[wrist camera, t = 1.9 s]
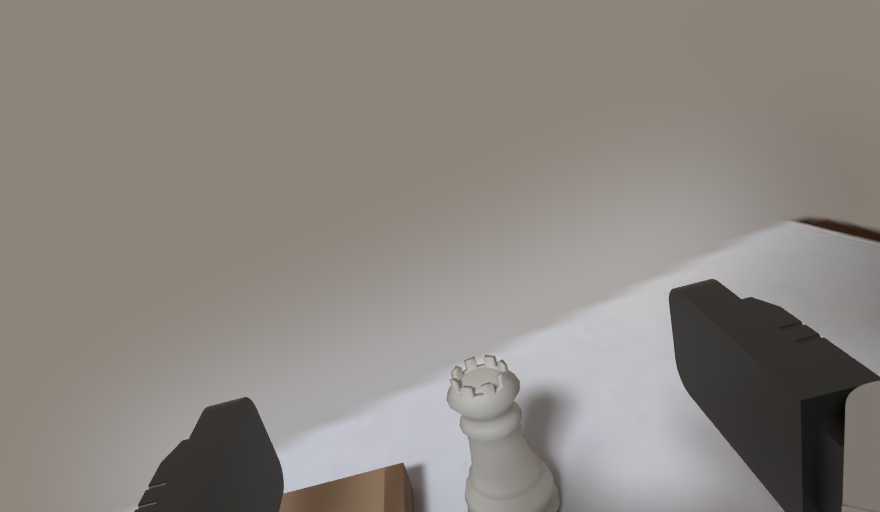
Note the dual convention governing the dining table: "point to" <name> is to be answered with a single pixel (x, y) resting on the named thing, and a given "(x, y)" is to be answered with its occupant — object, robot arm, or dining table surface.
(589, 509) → the dining table surface
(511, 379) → the rook chess piece
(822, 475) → the robot arm
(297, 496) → the rectangular wooden frame
